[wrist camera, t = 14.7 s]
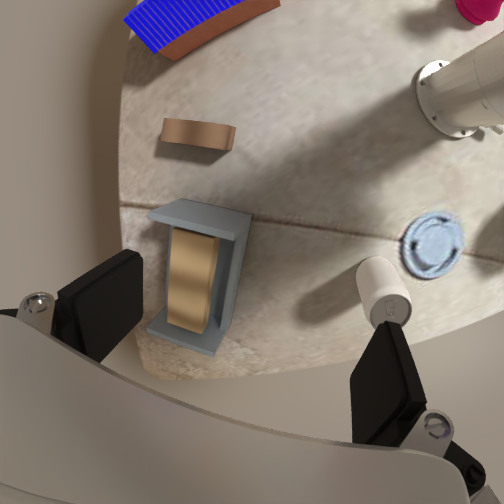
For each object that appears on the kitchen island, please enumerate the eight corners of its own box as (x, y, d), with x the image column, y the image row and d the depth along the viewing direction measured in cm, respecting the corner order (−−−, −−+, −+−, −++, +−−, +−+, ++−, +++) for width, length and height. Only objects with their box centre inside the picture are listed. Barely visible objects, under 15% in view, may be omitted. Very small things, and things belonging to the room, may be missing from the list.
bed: (252, 214, 42) (234, 233, 33) (231, 322, 50) (213, 357, 41) (181, 198, 44) (148, 211, 34) (171, 303, 51) (146, 332, 42)
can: (356, 294, 43) (366, 339, 32) (353, 258, 41) (365, 295, 30) (393, 289, 41) (413, 331, 30) (392, 252, 39) (416, 287, 28)
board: (207, 323, 44) (201, 334, 42) (175, 312, 45) (167, 322, 43) (221, 232, 38) (214, 238, 36) (182, 222, 39) (172, 228, 36)
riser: (236, 127, 38) (228, 125, 34) (231, 150, 39) (223, 149, 36) (176, 120, 39) (164, 118, 36) (172, 141, 41) (160, 140, 37)
